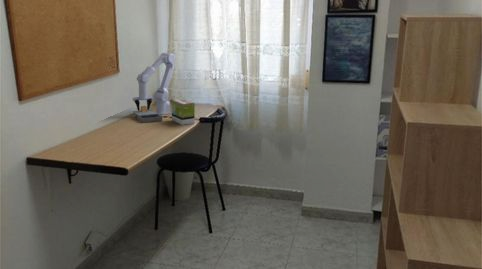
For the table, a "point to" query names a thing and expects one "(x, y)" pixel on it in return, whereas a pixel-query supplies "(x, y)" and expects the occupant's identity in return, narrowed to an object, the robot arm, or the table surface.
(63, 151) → the table surface
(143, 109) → the carton lid
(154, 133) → the table surface
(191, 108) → the tea box
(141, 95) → the robot arm
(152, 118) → the carton
